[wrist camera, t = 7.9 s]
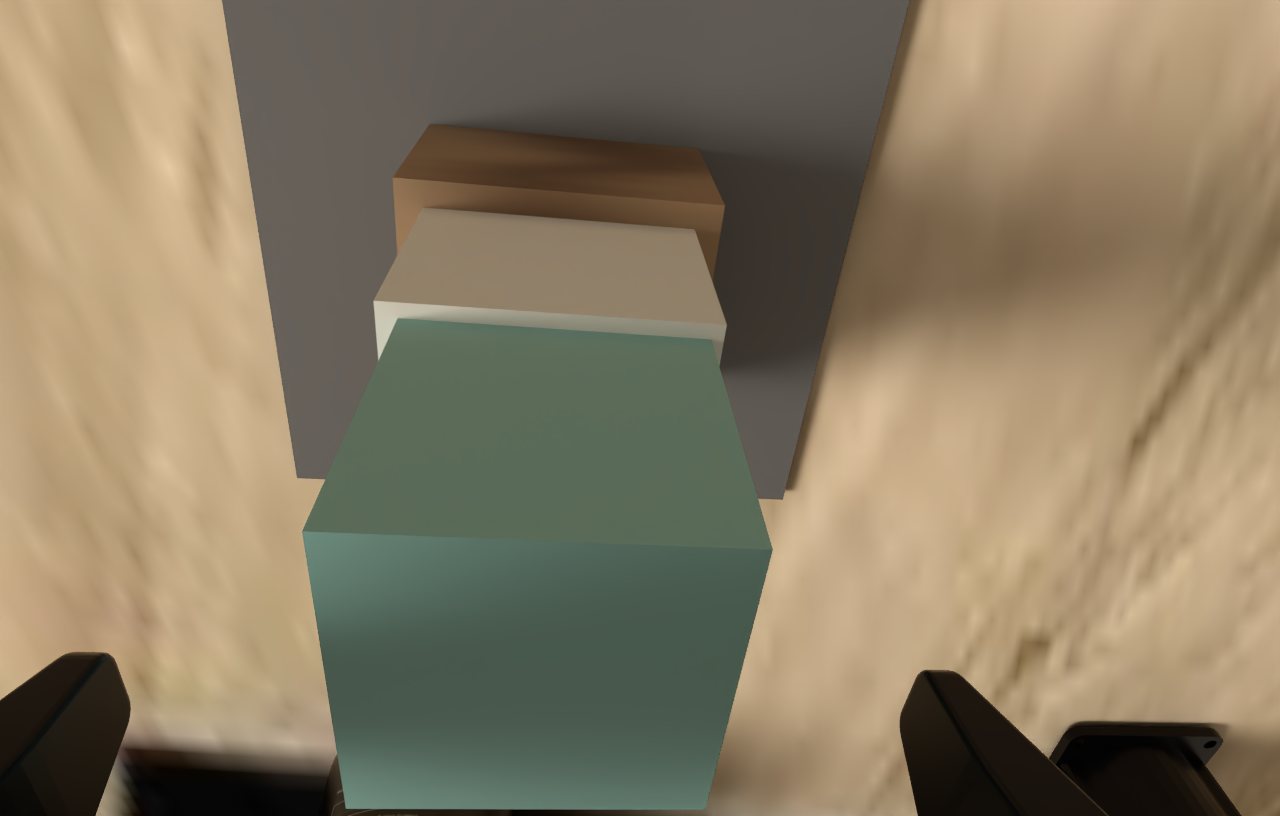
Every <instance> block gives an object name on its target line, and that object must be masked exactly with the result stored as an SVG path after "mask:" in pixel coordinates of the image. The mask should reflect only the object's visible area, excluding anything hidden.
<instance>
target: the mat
mask: <svg viewBox="0 0 1280 816" xmlns="http://www.w3.org/2000/svg"><path fill="white" fill-rule="evenodd" d="M909 1H910V0H222V3H223V9H224V15H225V22H226V28H227V34H228V41H229V47H230V54H231V60H232V66H233V73H234V79H235V85H236V92H237V98H238V104H239V111H240V117H241V124H242V130H243V136H244V143H245V149H246V155H247V162H248V168H249V174H250V181H251V187H252V194H253V200H254V206H255V213H256V219H257V225H258V232H259V238H260V244H261V251H262V257H263V264H264V270H265V276H266V283H267V289H268V295H269V302H270V308H271V314H272V321H273V327H274V334H275V340H276V346H277V353H278V359H279V365H280V372H281V378H282V385H283V391H284V397H285V404H286V410H287V416H288V423H289V429H290V435H291V442H292V448H293V455H294V461H295V467H296V474H297V478H310V479H326V477H327V475H328V473H329V470H330V468H331V466H332V464H333V461H334V459H335V457H336V455H337V453H338V450H339V448H340V446H341V444H342V441H343V439H344V437H345V435H346V432H347V430H348V428H349V426H350V423H351V421H352V419H353V417H354V414H355V412H356V410H357V408H358V405H359V403H360V401H361V399H362V397H363V394H364V392H365V390H366V388H367V385H368V383H369V381H370V379H371V376H372V374H373V372H374V370H375V367H376V365H377V363H378V350H377V338H376V326H375V313H374V299H375V297H376V295H377V293H378V291H379V289H380V287H381V286H382V284H383V282H384V280H385V278H386V276H387V274H388V272H389V270H390V268H391V267H392V265H393V263H394V261H395V259H396V257H397V241H396V224H395V208H394V192H393V176H394V175H395V173H396V172H397V170H398V169H399V168H400V166H401V165H402V163H403V162H404V160H405V159H406V157H407V156H408V155H409V153H410V152H411V150H412V149H413V147H414V146H415V144H416V143H417V141H418V140H419V139H420V137H421V136H422V134H423V133H424V131H425V130H426V128H427V127H428V126H429V124H433V125H444V126H455V127H466V128H477V129H488V130H499V131H510V132H521V133H532V134H543V135H554V136H565V137H576V138H586V139H597V140H608V141H619V142H630V143H641V144H652V145H663V146H674V147H685V148H696V149H699V151H700V153H701V155H702V157H703V159H704V161H705V163H706V166H707V168H708V170H709V172H710V174H711V176H712V179H713V181H714V183H715V185H716V187H717V189H718V191H719V194H720V196H721V198H722V200H723V202H724V204H725V208H724V214H723V221H722V227H721V233H720V239H719V245H718V251H717V257H716V263H715V269H714V275H713V285H714V288H715V291H716V294H717V297H718V300H719V303H720V306H721V309H722V312H723V315H724V318H725V321H726V324H727V327H726V332H725V338H724V343H723V349H722V355H721V360H720V366H719V367H720V371H721V374H722V378H723V381H724V384H725V388H726V391H727V395H728V398H729V402H730V405H731V408H732V412H733V415H734V419H735V422H736V426H737V429H738V432H739V436H740V439H741V443H742V446H743V450H744V453H745V456H746V460H747V463H748V467H749V470H750V474H751V477H752V481H753V484H754V487H755V491H756V494H757V498H759V499H781V500H783V496H784V492H785V488H786V484H787V480H788V476H789V473H790V469H791V465H792V461H793V457H794V453H795V449H796V445H797V441H798V437H799V433H800V429H801V425H802V421H803V417H804V414H805V410H806V406H807V402H808V398H809V394H810V390H811V386H812V382H813V378H814V374H815V370H816V366H817V362H818V358H819V355H820V351H821V347H822V343H823V339H824V335H825V331H826V327H827V323H828V319H829V315H830V311H831V307H832V303H833V300H834V296H835V292H836V288H837V284H838V280H839V276H840V272H841V268H842V264H843V260H844V256H845V252H846V248H847V244H848V241H849V237H850V233H851V229H852V225H853V221H854V217H855V213H856V209H857V205H858V201H859V197H860V193H861V189H862V185H863V182H864V178H865V174H866V170H867V166H868V162H869V158H870V154H871V150H872V146H873V142H874V138H875V134H876V130H877V127H878V123H879V119H880V115H881V111H882V107H883V103H884V99H885V95H886V91H887V87H888V83H889V79H890V75H891V71H892V68H893V64H894V60H895V56H896V52H897V48H898V44H899V40H900V36H901V32H902V28H903V24H904V20H905V16H906V12H907V9H908V5H909Z"/></svg>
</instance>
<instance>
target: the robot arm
mask: <svg viewBox="0 0 1280 816" xmlns="http://www.w3.org/2000/svg"><path fill="white" fill-rule="evenodd" d="M130 710H131V707H130V700H129V696H128V694H127V691H126V688H125V686H124V683H123V680H122V677H121V675H120V672H119V669H118V666H117V664H116V661H115V659H114V658H113V657H112V656H111V655H109V654H108V653H102V652H72V653H68V654H65V655H63V656H61V657H59V658H58V659H56V660H55V661H53V662H52V663H51V664H49V665H48V666H47V667H45V668H44V669H42V670H41V671H40V672H38V673H37V674H36V675H34V676H33V677H31V678H30V679H29V680H27V681H26V682H25V683H23V684H22V685H20V686H19V687H18V688H16V689H15V690H13V691H12V692H11V693H9V694H8V695H7V696H5V697H4V698H2V699H1V700H0V816H95V815H96V812H97V809H98V807H99V804H100V801H101V798H102V795H103V793H104V790H105V787H106V784H107V781H108V779H109V776H110V773H111V770H112V768H113V765H114V762H115V759H116V756H117V754H118V751H119V748H120V745H121V742H122V740H123V737H124V734H125V731H126V728H127V726H128V722H129V718H130ZM900 733H901V739H902V743H903V748H904V753H905V757H906V762H907V767H908V772H909V776H910V781H911V786H912V790H913V795H914V800H915V805H916V809H917V814H918V816H1241V815H1240V813H1239V812H1238V810H1237V809H1236V808H1235V806H1234V805H1233V803H1232V802H1231V801H1230V799H1229V798H1228V796H1227V795H1226V794H1225V792H1224V791H1223V790H1222V788H1221V787H1220V785H1219V784H1218V783H1217V781H1216V780H1215V778H1214V777H1213V776H1212V774H1211V773H1210V771H1209V770H1208V769H1207V767H1206V766H1205V765H1206V764H1207V763H1208V761H1209V760H1210V759H1211V757H1212V756H1213V755H1214V754H1215V752H1216V751H1217V750H1218V749H1219V747H1220V746H1221V745H1222V743H1223V739H1222V738H1221V736H1220V735H1219V734H1218V732H1217V731H1216V730H1215V729H1213V728H1179V727H1109V726H1077V727H1074V728H1071V729H1069V730H1068V731H1066V732H1065V733H1064V735H1063V736H1062V738H1061V740H1060V741H1059V743H1058V745H1057V746H1056V748H1055V749H1054V751H1053V753H1052V754H1051V756H1050V758H1049V759H1048V758H1047V757H1046V756H1045V755H1044V754H1043V753H1042V752H1041V751H1040V750H1039V749H1038V748H1037V747H1036V746H1035V745H1034V744H1033V743H1032V742H1031V741H1030V740H1028V739H1027V738H1026V737H1025V736H1024V735H1023V734H1022V733H1021V732H1020V731H1019V730H1018V729H1017V728H1016V727H1015V726H1014V725H1013V724H1012V723H1011V722H1010V721H1009V720H1007V719H1006V718H1005V717H1004V716H1003V715H1002V714H1001V713H1000V712H999V711H998V710H997V709H996V708H995V707H994V706H993V705H992V704H991V703H990V702H989V701H987V700H986V699H985V698H984V697H983V696H982V695H981V694H980V693H979V692H978V691H977V690H976V689H975V688H974V687H973V686H972V685H971V684H970V683H969V682H967V681H966V680H965V679H964V678H963V677H962V676H961V675H959V674H958V673H956V672H954V671H949V670H923V671H922V672H921V673H919V674H918V675H917V677H916V679H915V682H914V684H913V686H912V688H911V691H910V693H909V695H908V698H907V700H906V702H905V704H904V707H903V709H902V712H901V716H900Z"/></svg>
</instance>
